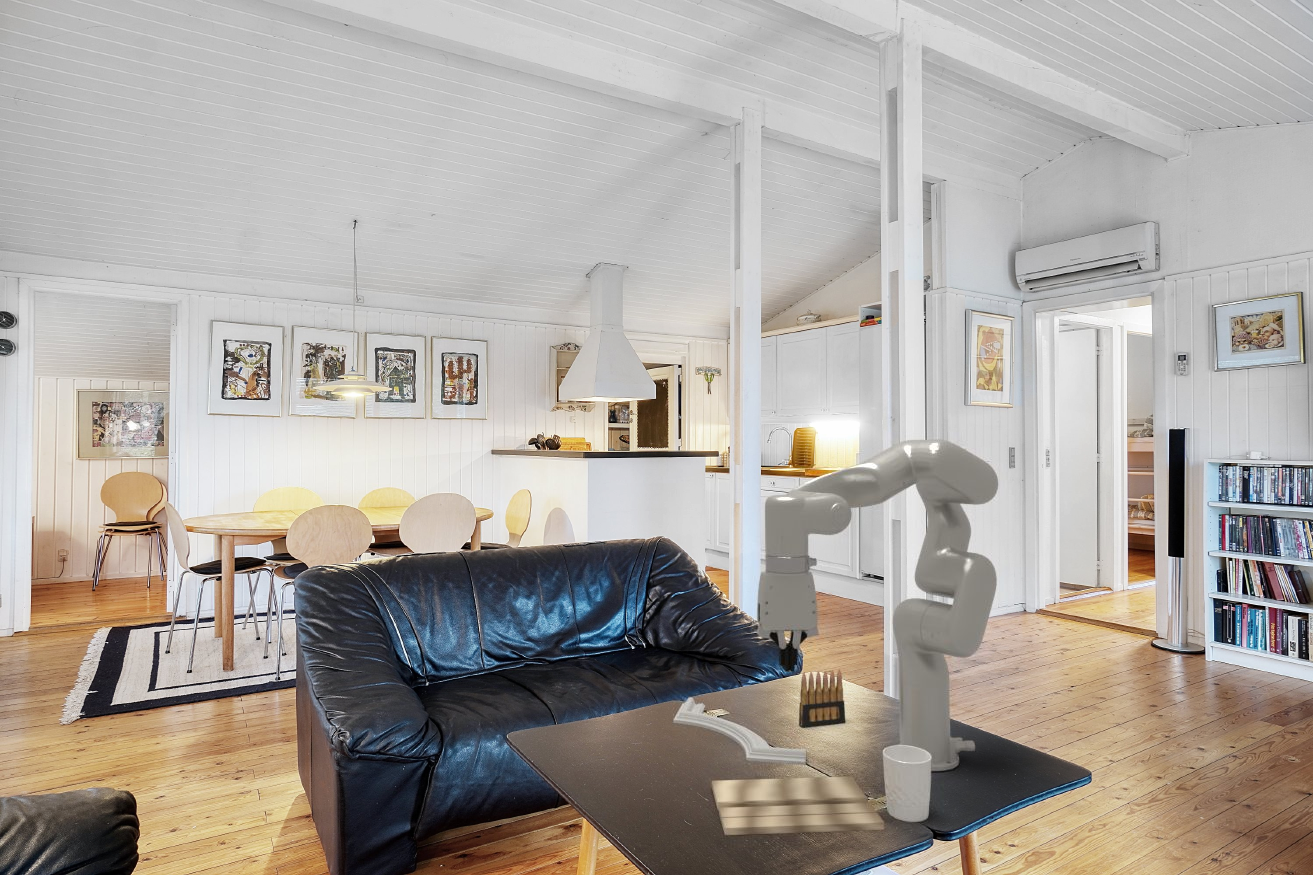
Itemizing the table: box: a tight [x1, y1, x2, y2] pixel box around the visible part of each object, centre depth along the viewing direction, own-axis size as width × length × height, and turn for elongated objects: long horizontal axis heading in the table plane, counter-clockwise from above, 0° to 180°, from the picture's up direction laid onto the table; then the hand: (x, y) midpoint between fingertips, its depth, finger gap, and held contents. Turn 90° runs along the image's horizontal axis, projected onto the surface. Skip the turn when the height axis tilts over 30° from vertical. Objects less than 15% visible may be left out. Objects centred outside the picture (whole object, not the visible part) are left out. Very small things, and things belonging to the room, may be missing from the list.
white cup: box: [882, 744, 932, 823], centre depth 131 cm, size 8×8×10 cm
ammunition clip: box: [798, 668, 846, 729], centre depth 173 cm, size 11×2×12 cm, turn 106°
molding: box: [672, 696, 807, 766], centre depth 167 cm, size 42×12×3 cm, turn 33°
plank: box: [711, 776, 869, 812], centre depth 136 cm, size 26×9×1 cm, turn 93°
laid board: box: [718, 802, 885, 836], centre depth 127 cm, size 26×7×1 cm, turn 93°
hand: (788, 669), depth 135 cm, fingers closed
